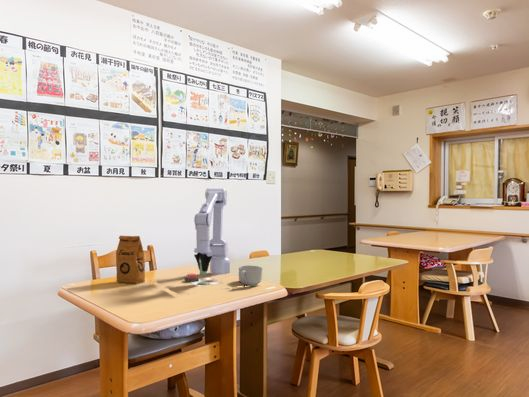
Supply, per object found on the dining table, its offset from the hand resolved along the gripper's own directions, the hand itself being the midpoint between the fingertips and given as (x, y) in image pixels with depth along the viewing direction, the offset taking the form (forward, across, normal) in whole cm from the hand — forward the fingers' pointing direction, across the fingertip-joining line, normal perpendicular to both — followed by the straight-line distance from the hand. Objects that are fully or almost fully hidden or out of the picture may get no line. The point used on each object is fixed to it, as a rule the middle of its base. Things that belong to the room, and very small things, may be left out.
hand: (203, 270), depth 172 cm
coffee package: (+7, -28, -24) cm, 38 cm away
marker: (+2, 0, 0) cm, 2 cm away
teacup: (+7, +9, +18) cm, 21 cm away
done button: (+5, -9, -2) cm, 10 cm away
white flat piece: (+7, -4, +2) cm, 8 cm away
